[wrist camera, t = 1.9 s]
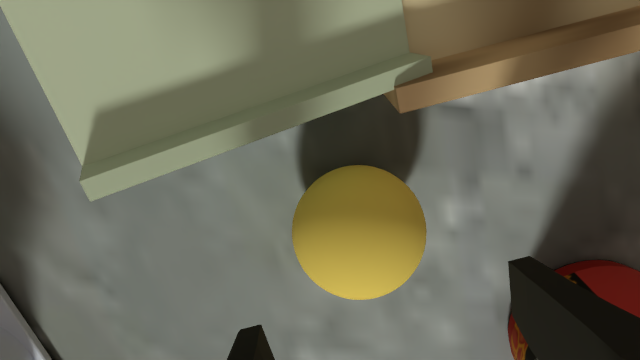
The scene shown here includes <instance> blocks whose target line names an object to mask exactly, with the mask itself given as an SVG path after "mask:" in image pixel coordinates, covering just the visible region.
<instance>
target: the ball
mask: <svg viewBox="0 0 640 360" xmlns="http://www.w3.org/2000/svg"><path fill="white" fill-rule="evenodd" d="M292 239H293V245H294V249H295V253H296V256H297V258H298V260H299V263H300V264H301V266H302V268H303V270H304V271H305V272H306V273H307V275H308V276H309V277H310V278H311V279H312V280H313V281H314V282H315V283H316V284H317V285H319V286H320V287H321V288H323V289H324V290H326V291H328V292H330V293H332V294H334V295H337V296H340V297H343V298H347V299H354V300H364V299H372V298H377V297H380V296H383V295H385V294H388V293H390V292H392V291H393V290H395V289H397V288H398V287H400V286H401V285H402V284H403V283H404V282H406V281H407V280H408V278H409V277H410V276H411V275H412V274H413V272H414V271H415V269H416V268H417V266H418V264H419V263H420V261H421V258H422V255H423V252H424V249H425V244H426V223H425V218H424V214H423V211H422V208H421V206H420V204H419V201H418V200H417V198H416V196H415V195H414V193H413V192H412V191H411V190H410V188H409V187H408V186H407V185H406V184H405V183H404V182H403V181H401V180H400V179H399V178H397V177H396V176H394V175H393V174H391V173H389V172H387V171H385V170H382V169H379V168H376V167H372V166H366V165H351V166H345V167H341V168H338V169H335V170H332V171H330V172H328V173H326V174H325V175H323V176H321V177H320V178H319V179H317V180H316V181H315V182H314V183H313V184H312V185H311V186H310V187H309V188H308V189H307V190H306V192H305V193H304V195H303V196H302V198H301V199H300V201H299V203H298V205H297V208H296V211H295V214H294V218H293V225H292Z"/></svg>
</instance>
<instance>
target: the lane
mask: <svg viewBox="0 0 640 360" xmlns="http://www.w3.org/2000/svg"><path fill="white" fill-rule="evenodd" d="M402 6H403V13H404V19H405V26H406V32H407V39H408V45H409V52H410V53H416V54H421V55H426V56H431V62H432V70H433V72H432V73H429V74H427V75H424V76H421V77H418V78H416V79H413V80H410V81H407V82H405V83H402V84H399V85H397V86H394V90H392V91H389V92H387V93H384V95H385V96H386V98H387V99H388V100H389V101H390V102H391V103H392V105H393V106H394V107H395V108H396V109H397V111H398V112H399V113H400V114H401V113H405V112H408V111H412V110H416V109H420V108H424V107H427V106H431V105H435V104H439V103H443V102H447V101H450V100H454V99H458V98H462V97H466V96H469V95H473V94H477V93H481V92H485V91H488V90H492V89H496V88H500V87H504V86H508V85H511V84H515V83H519V82H523V81H527V80H530V79H534V78H538V77H542V76H546V75H549V74H553V73H557V72H561V71H565V70H569V69H572V68H576V67H580V66H584V65H588V64H591V63H595V62H599V61H603V60H607V59H610V58H614V57H618V56H622V55H626V54H630V53H633V52H637V51H640V0H402Z"/></svg>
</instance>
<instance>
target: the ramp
mask: <svg viewBox="0 0 640 360" xmlns="http://www.w3.org/2000/svg"><path fill="white" fill-rule="evenodd" d="M0 6H1V8H2V10H3V12H4V14H5V16H6V18H7V20H8V22H9V24H10V26H11V28H12V30H13V32H14V34H15V36H16V38H17V40H18V41H19V43H20V45H21V47H22V49H23V51H24V53H25V55H26V57H27V59H28V61H29V63H30V65H31V67H32V69H33V71H34V73H35V75H36V77H37V79H38V81H39V83H40V84H41V86H42V88H43V90H44V92H45V94H46V96H47V98H48V100H49V102H50V104H51V106H52V108H53V110H54V112H55V114H56V116H57V118H58V120H59V122H60V124H61V125H62V127H63V129H64V131H65V133H66V135H67V137H68V139H69V141H70V143H71V145H72V147H73V149H74V151H75V153H76V155H77V157H78V159H79V161H80V163H81V165H82V171H81V176H80V183H81V185H82V187H83V189H84V191H85V193H86V195H87V197H88V198H89V200H90V202H91V201H93V200H96V199H99V198H102V197H104V196H107V195H110V194H112V193H115V192H118V191H121V190H123V189H126V188H129V187H131V186H134V185H137V184H140V183H142V182H145V181H148V180H150V179H153V178H156V177H159V176H161V175H164V174H167V173H169V172H172V171H175V170H178V169H180V168H183V167H186V166H188V165H191V164H194V163H197V162H199V161H202V160H205V159H207V158H210V157H213V156H216V155H218V154H221V153H224V152H226V151H229V150H232V149H235V148H237V147H240V146H243V145H245V144H248V143H251V142H254V141H256V140H259V139H262V138H264V137H267V136H270V135H273V134H275V133H278V132H281V131H283V130H286V129H289V128H292V127H294V126H297V125H300V124H302V123H305V122H308V121H311V120H313V119H316V118H319V117H321V116H324V115H327V114H330V113H332V112H335V111H338V110H340V109H343V108H346V107H349V106H351V105H354V104H357V103H359V102H362V101H365V100H368V99H370V98H373V97H376V96H379V95H381V94H384V93H387V92H389V91H392V90H394V86H397V85H399V84H402V83H405V82H407V81H410V80H413V79H416V78H418V77H421V76H424V75H427V74H429V73H432V72H433V70H432V62H431V56H426V55H421V54H416V53H410V52H409V45H408V39H407V32H406V26H405V19H404V13H403V6H402V0H0Z"/></svg>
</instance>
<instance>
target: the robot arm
mask: <svg viewBox="0 0 640 360" xmlns="http://www.w3.org/2000/svg"><path fill="white" fill-rule="evenodd" d="M508 264H509V278H510V291H511V305H512V316H513V318H514V320H515V322H516V324H517V326H518V328H519V330H520V332H521V333H522V335H523V337H524V339H525V341H526V342H527V344H528V346H529V348H530V349H531V351H532V352H533V354H534V355H535V357H536V358H537V360H640V318H639V317H637V316H635V315H633V314H631V313H629V312H627V311H625V310H623V309H621V308H619V307H617V306H615V305H613V304H611V303H609V302H608V301H606V300H604V299H602V298H600V297H598V296H596V295H595V294H593V293H591V292H589V291H588V290H586V289H584V288H582V287H580V286H579V285H577V284H575V283H574V282H572V281H570V280H569V279H567V278H565V277H563V276H562V275H560V274H558V273H557V272H555V271H553V270H552V269H550V268H549V267H547V266H545V265H544V264H542V263H540V262H539V261H537V260H535V259H534V258H532V257H530V256H528V257H524V258H520V259H516V260H512V261H508ZM0 360H52V359H51V357H50V356H49V355H48V353H47V352H46V350H45V349H44V347H43V346H42V344H41V343H40V341H39V340H38V338H37V337H36V335H35V334H34V333H33V331H32V330H31V328H30V327H29V325H28V324H27V322H26V321H25V319H24V318H23V316H22V315H21V313H20V312H19V311H18V309H17V308H16V306H15V305H14V303H13V302H12V300H11V299H10V297H9V296H8V294H7V293H6V291H5V290H4V289H3V287H2V286H1V284H0ZM227 360H275V359H274V357H273V354H272V351H271V349H270V346H269V344H268V341H267V339H266V336H265V334H264V331H263V328H262V326H261V325H257V326H253V327H249V328H245V329H241V330H240V331H239V332H238V334H237V337H236V339H235V342H234V344H233V346H232V349H231V351H230V354H229V356H228V358H227Z"/></svg>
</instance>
